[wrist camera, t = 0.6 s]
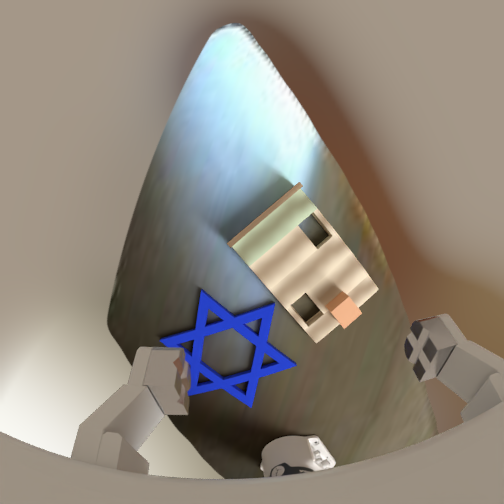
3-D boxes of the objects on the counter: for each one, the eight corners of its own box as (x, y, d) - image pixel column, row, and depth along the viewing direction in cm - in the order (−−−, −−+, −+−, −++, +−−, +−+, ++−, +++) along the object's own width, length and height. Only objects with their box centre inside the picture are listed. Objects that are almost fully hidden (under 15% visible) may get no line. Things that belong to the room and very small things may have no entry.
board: (373, 286, 58) (384, 292, 53) (313, 337, 60) (319, 349, 54) (294, 186, 57) (299, 181, 51) (229, 241, 58) (226, 243, 52)
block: (354, 306, 56) (362, 313, 51) (337, 321, 56) (344, 328, 52) (342, 290, 56) (349, 296, 51) (325, 305, 56) (330, 312, 51)
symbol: (320, 340, 58) (231, 425, 60) (318, 337, 60) (231, 421, 62) (224, 262, 57) (142, 361, 59) (225, 261, 59) (144, 358, 61)
